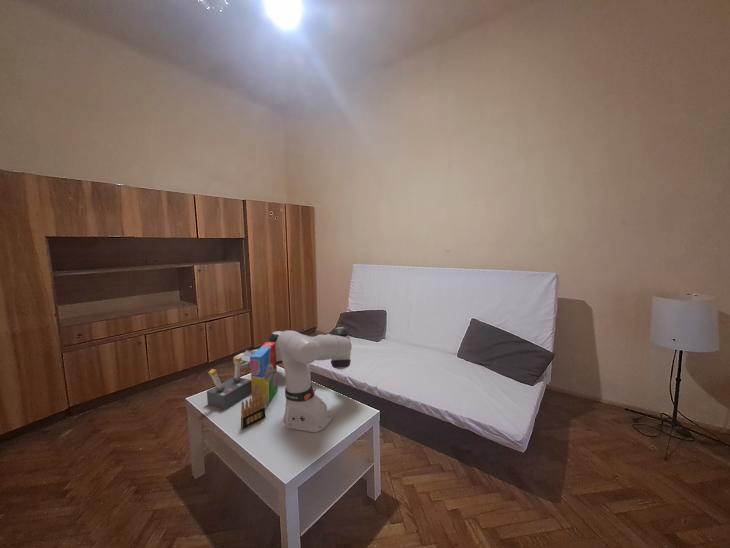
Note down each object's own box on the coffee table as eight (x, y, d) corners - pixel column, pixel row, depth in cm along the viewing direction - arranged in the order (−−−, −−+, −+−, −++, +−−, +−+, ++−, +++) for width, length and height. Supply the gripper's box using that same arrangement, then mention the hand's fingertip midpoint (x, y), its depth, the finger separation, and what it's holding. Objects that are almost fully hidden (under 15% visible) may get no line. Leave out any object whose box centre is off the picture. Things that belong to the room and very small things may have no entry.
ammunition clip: (243, 429, 122) (241, 403, 121) (241, 427, 123) (239, 401, 122) (265, 417, 130) (264, 392, 129) (263, 416, 132) (262, 391, 130)
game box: (263, 412, 134) (260, 357, 131) (252, 412, 134) (249, 357, 131) (277, 389, 155) (275, 341, 152) (268, 389, 155) (265, 341, 152)
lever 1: (225, 388, 141) (216, 369, 136) (221, 392, 140) (212, 373, 134) (220, 387, 143) (211, 368, 138) (217, 390, 141) (207, 372, 136)
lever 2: (240, 381, 150) (242, 357, 150) (237, 382, 148) (238, 359, 148) (236, 379, 151) (237, 356, 152) (232, 381, 149) (234, 358, 149)
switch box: (252, 392, 152) (251, 380, 151) (224, 410, 136) (223, 395, 136) (235, 388, 157) (235, 375, 156) (207, 404, 141) (206, 390, 141)
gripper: (272, 365, 159) (253, 376, 147) (245, 359, 168) (225, 369, 156) (271, 355, 159) (252, 364, 146) (245, 349, 167) (224, 358, 155)
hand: (238, 367), depth 151 cm, fingers closed, pressing on lever 2
